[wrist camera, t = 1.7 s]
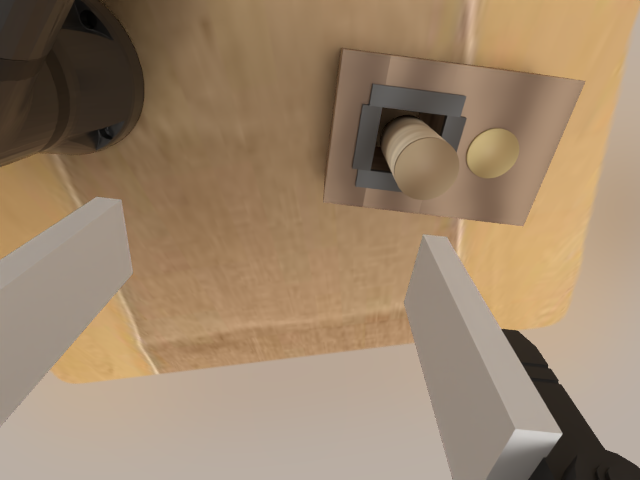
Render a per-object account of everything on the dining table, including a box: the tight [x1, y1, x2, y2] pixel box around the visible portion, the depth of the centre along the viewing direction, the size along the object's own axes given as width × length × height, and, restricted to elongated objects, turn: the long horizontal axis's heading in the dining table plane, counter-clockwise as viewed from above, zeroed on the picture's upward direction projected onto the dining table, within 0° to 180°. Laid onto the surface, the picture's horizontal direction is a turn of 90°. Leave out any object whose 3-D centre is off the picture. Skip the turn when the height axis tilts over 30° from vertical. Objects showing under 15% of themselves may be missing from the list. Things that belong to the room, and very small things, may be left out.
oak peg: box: [380, 115, 459, 200], centre depth 26 cm, size 4×4×8 cm
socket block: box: [323, 48, 585, 226], centre depth 33 cm, size 18×12×9 cm, turn 83°
